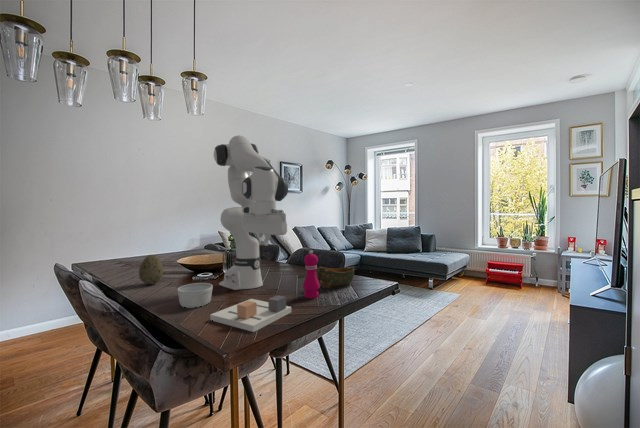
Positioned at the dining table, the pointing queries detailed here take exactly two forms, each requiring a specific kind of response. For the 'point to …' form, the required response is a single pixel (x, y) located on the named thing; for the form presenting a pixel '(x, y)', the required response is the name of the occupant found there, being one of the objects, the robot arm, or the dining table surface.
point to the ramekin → (195, 294)
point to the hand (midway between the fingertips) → (263, 245)
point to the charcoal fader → (277, 303)
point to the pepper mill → (311, 276)
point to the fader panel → (251, 323)
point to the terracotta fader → (246, 309)
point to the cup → (335, 277)
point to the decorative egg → (150, 270)
